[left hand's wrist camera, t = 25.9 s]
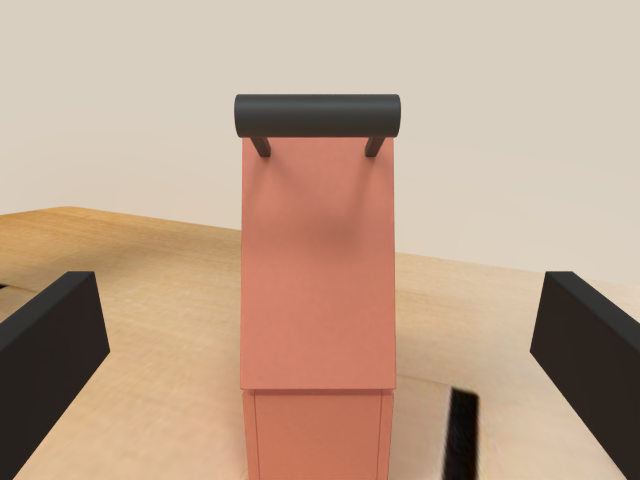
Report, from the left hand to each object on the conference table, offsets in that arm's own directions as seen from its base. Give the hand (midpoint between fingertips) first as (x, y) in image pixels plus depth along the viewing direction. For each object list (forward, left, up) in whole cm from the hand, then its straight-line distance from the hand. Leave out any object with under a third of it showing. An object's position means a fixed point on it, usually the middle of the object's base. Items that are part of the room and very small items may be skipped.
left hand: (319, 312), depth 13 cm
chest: (+16, -10, -21) cm, 29 cm away
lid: (+12, -8, -4) cm, 15 cm away
